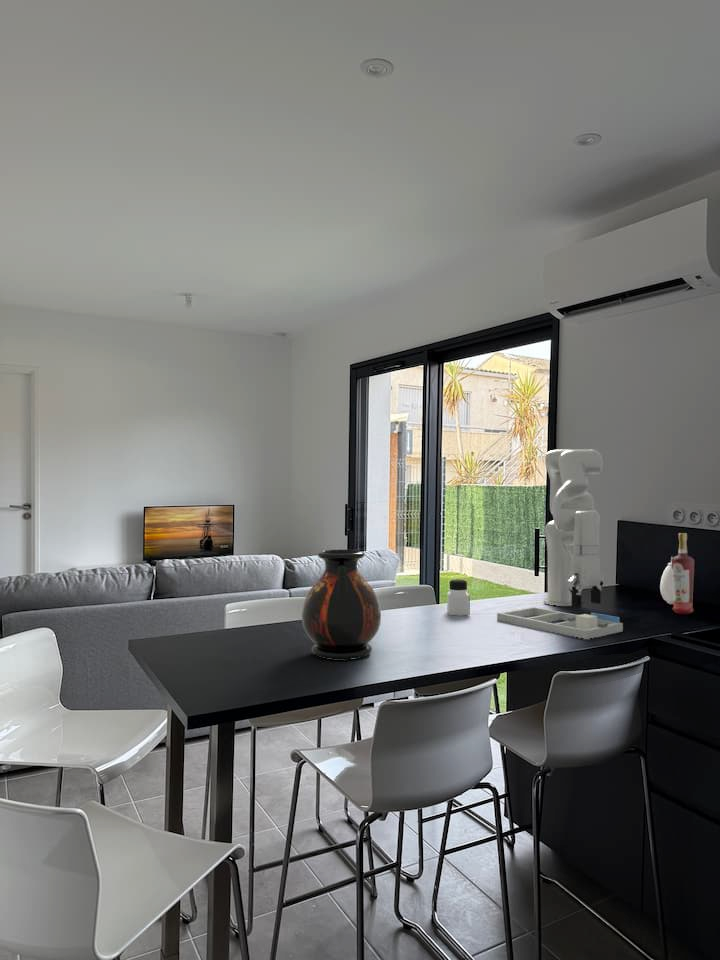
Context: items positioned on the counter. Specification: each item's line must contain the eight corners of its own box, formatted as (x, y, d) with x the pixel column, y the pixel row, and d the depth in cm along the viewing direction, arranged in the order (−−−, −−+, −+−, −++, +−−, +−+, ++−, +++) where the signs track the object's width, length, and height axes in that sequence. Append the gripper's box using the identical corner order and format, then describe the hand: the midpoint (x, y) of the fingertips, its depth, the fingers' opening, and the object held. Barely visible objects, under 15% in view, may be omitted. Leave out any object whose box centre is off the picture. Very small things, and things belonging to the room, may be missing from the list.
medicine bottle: (469, 615, 244) (469, 581, 244) (449, 615, 244) (449, 581, 244) (467, 611, 251) (467, 578, 251) (447, 611, 251) (447, 578, 251)
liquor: (698, 613, 245) (698, 533, 245) (687, 616, 241) (686, 534, 241) (679, 610, 251) (678, 532, 251) (667, 612, 247) (667, 533, 247)
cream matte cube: (584, 629, 221) (584, 613, 221) (597, 632, 218) (597, 616, 218) (576, 631, 218) (576, 615, 218) (588, 634, 215) (588, 617, 215)
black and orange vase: (303, 645, 202) (302, 548, 202) (377, 644, 203) (377, 547, 203) (301, 665, 180) (300, 556, 180) (384, 663, 182) (384, 555, 182)
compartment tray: (534, 613, 247) (534, 602, 247) (623, 630, 219) (623, 618, 219) (497, 620, 235) (497, 608, 235) (586, 639, 207) (586, 626, 207)
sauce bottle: (655, 603, 266) (655, 555, 266) (669, 601, 269) (669, 554, 269) (673, 606, 259) (673, 557, 259) (687, 604, 262) (687, 556, 262)
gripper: (592, 546, 226) (592, 599, 227) (558, 551, 216) (558, 606, 217) (613, 549, 220) (613, 603, 221) (579, 554, 210) (579, 611, 211)
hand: (586, 605), depth 219 cm, fingers open, 9 cm apart
